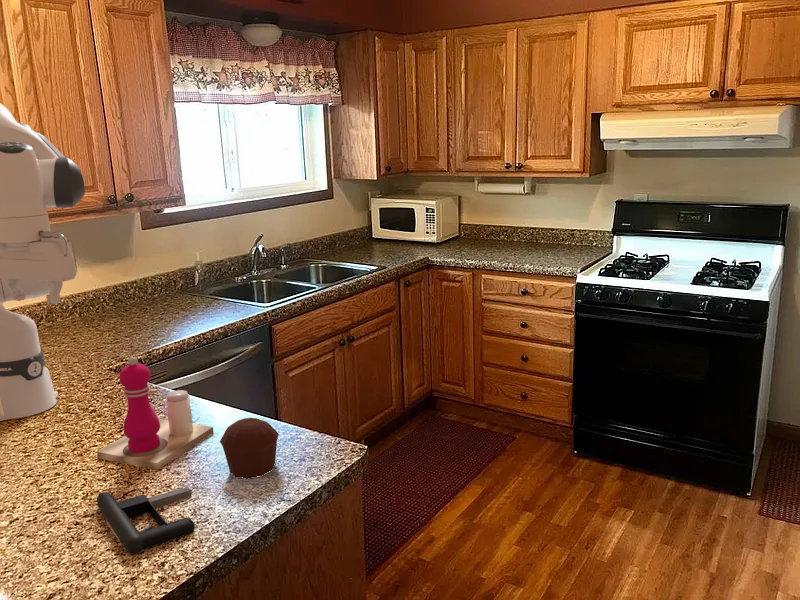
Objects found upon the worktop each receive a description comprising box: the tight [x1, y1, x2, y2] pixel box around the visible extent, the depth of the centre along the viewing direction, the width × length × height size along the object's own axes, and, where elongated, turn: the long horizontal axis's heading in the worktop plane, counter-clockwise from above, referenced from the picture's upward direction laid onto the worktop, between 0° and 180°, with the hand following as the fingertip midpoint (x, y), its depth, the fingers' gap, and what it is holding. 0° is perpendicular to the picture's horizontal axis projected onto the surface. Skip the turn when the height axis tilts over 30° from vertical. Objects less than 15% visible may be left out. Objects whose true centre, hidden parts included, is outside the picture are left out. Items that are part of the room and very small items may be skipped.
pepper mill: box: [118, 356, 160, 453], centre depth 138 cm, size 7×7×20 cm
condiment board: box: [96, 417, 214, 471], centre depth 144 cm, size 16×18×2 cm
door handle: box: [92, 486, 196, 555], centre depth 116 cm, size 3×20×16 cm
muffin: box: [219, 417, 280, 480], centre depth 132 cm, size 12×11×10 cm
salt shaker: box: [165, 389, 194, 437], centre depth 146 cm, size 5×5×9 cm
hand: (36, 301), depth 128 cm, fingers open, 8 cm apart
